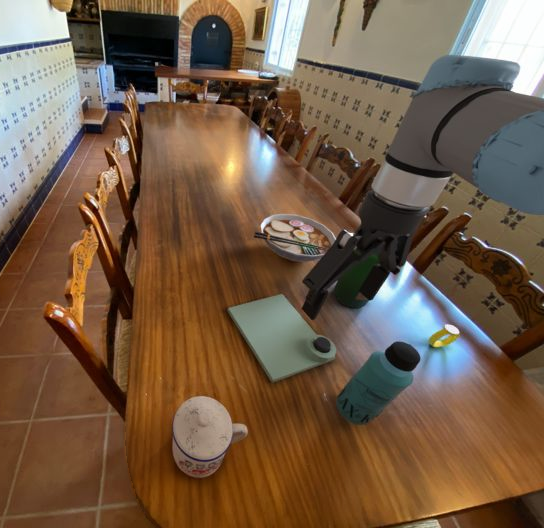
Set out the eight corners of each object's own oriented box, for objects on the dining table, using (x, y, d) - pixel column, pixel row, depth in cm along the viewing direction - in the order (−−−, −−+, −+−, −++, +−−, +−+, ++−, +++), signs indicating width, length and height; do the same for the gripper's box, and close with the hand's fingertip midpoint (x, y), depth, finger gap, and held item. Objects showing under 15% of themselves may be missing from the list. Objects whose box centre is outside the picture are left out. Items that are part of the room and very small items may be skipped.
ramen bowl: (329, 241, 101) (338, 220, 96) (334, 284, 84) (346, 262, 79) (256, 225, 105) (261, 205, 100) (247, 264, 88) (252, 241, 83)
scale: (336, 361, 64) (342, 353, 62) (273, 385, 59) (276, 377, 57) (282, 296, 79) (285, 288, 77) (227, 311, 73) (229, 302, 71)
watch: (442, 338, 71) (458, 322, 68) (452, 348, 69) (469, 332, 65) (421, 341, 70) (436, 325, 67) (430, 351, 68) (446, 335, 64)
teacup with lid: (172, 483, 45) (174, 456, 38) (169, 421, 52) (171, 388, 45) (247, 475, 47) (264, 447, 40) (235, 416, 54) (247, 383, 46)
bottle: (371, 317, 75) (437, 223, 57) (327, 304, 77) (377, 210, 60) (368, 290, 83) (425, 200, 65) (328, 279, 85) (373, 189, 68)
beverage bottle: (329, 391, 59) (376, 328, 46) (364, 399, 58) (421, 337, 45) (334, 425, 54) (389, 365, 41) (373, 434, 53) (440, 376, 40)
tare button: (331, 350, 63) (333, 346, 62) (320, 354, 62) (322, 350, 61) (321, 339, 65) (324, 335, 64) (310, 343, 64) (313, 338, 63)
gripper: (432, 176, 46) (370, 275, 60) (307, 195, 38) (268, 306, 52) (483, 198, 41) (403, 301, 55) (351, 226, 33) (295, 340, 46)
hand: (337, 304), depth 53 cm, fingers open, 13 cm apart
